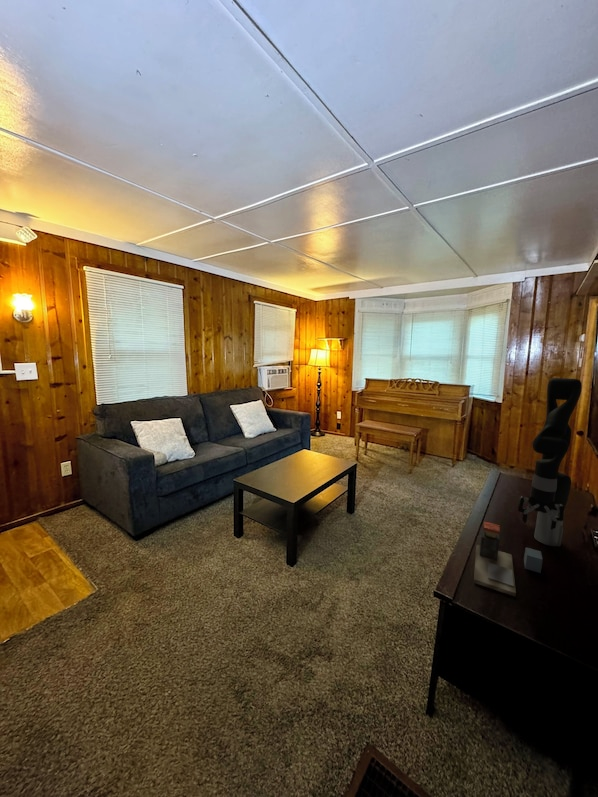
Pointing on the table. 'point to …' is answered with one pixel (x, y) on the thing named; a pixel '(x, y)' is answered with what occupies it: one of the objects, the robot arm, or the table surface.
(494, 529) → the block
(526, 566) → the block
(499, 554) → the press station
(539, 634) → the table surface
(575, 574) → the table surface
